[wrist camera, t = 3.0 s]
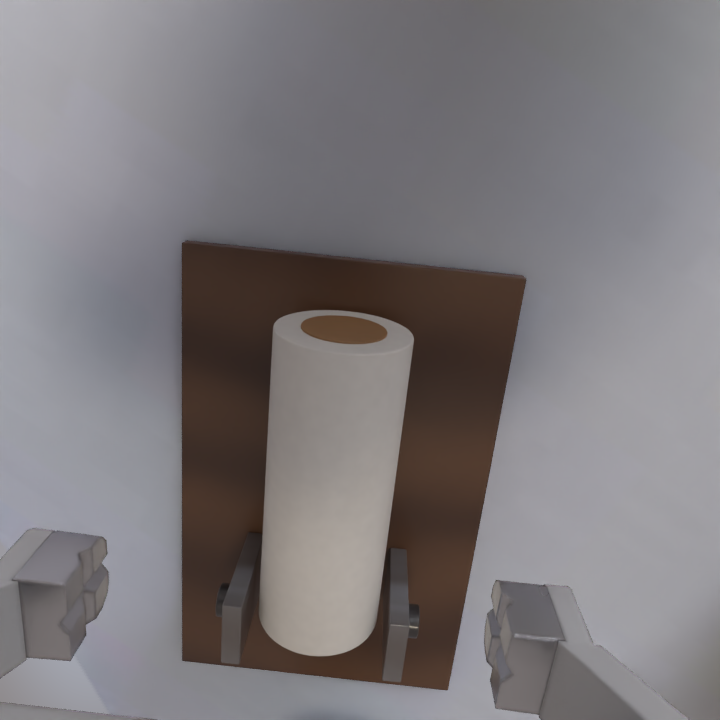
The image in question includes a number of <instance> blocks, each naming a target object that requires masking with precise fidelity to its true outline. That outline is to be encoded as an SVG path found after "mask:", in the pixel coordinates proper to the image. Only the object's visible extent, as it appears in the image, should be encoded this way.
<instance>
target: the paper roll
mask: <svg viewBox="0 0 720 720" xmlns="http://www.w3.org/2000/svg"><path fill="white" fill-rule="evenodd" d="M413 344H414V337H413V334H412V333H411V332H410V331H409V330H408V329H407V328H405V327H404V326H402V325H400V324H398V323H396V322H393V321H391V320H388V319H385V318H381V317H378V316H374V315H369V314H364V313H358V312H350V311H339V310H313V311H303V312H297V313H293V314H289V315H286V316H283V317H281V318H279V319H278V320H277V321H276V322H275V323H274V326H273V339H272V359H271V379H270V398H269V418H268V437H267V457H266V476H265V496H264V515H263V535H262V555H261V574H260V594H259V618H260V621H261V624H262V626H263V628H264V630H265V631H266V633H267V634H268V635H269V636H270V637H271V638H272V639H273V640H274V641H275V642H276V643H278V644H279V645H281V646H282V647H284V648H286V649H288V650H291V651H293V652H296V653H299V654H303V655H309V656H332V655H337V654H341V653H345V652H347V651H350V650H352V649H354V648H356V647H357V646H359V645H360V644H362V643H363V642H364V641H365V640H366V639H367V638H368V637H369V636H370V634H371V633H372V631H373V629H374V627H375V625H376V621H377V614H378V607H379V599H380V592H381V584H382V577H383V569H384V562H385V554H386V547H387V539H388V532H389V524H390V517H391V509H392V501H393V494H394V486H395V479H396V471H397V464H398V456H399V449H400V441H401V434H402V426H403V419H404V411H405V404H406V396H407V389H408V381H409V374H410V366H411V359H412V351H413Z"/></svg>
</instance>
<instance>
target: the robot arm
mask: <svg viewBox="0 0 720 720" xmlns="http://www.w3.org/2000/svg"><path fill="white" fill-rule="evenodd" d="M106 555H107V543H106V540H105V539H104V538H103V537H102V536H94V535H87V534H79V533H71V532H64V531H54V530H46V529H38V528H32V529H29V530H27V531H26V532H25V533H24V534H23V535H22V536H21V537H20V538H19V539H18V540H17V542H16V543H15V544H14V545H13V546H12V547H11V548H10V549H9V550H8V551H7V552H6V554H5V555H4V556H3V557H2V558H1V559H0V678H2V677H3V676H5V675H6V674H7V673H9V672H10V671H12V670H13V669H14V668H16V667H17V666H19V665H20V664H21V663H23V662H24V661H26V658H39V659H52V660H63V661H71V659H72V658H73V656H74V654H75V653H76V651H77V649H78V648H79V646H80V645H81V643H82V641H83V640H84V638H85V636H86V624H88V623H89V622H91V621H93V620H94V619H96V618H97V616H98V615H99V613H100V611H101V609H102V608H103V605H104V602H105V599H106V596H107V592H108V583H109V575H108V570H107V569H106V568H105V567H104V565H103V564H102V561H103V560H104V558H105V557H106ZM491 598H492V603H493V609H492V610H491V611H490V612H488V613H487V619H486V624H485V637H484V644H485V654H486V660H487V662H488V664H489V665H490V666H491V667H492V668H493V669H492V673H491V678H490V682H491V687H492V693H493V698H494V703H495V708H496V709H502V710H510V711H517V712H524V713H531V714H538V715H539V718H540V719H541V720H689V719H688V718H687V717H685V716H684V715H683V714H682V713H681V712H679V711H678V710H677V709H676V708H675V707H674V706H672V705H671V704H670V703H669V702H668V701H666V700H665V699H664V698H663V697H662V696H660V695H659V694H658V693H657V692H656V691H654V690H653V689H652V688H651V687H650V686H648V685H647V684H646V683H645V682H644V681H643V680H641V679H640V678H639V677H638V676H637V675H635V674H634V673H633V672H632V671H631V670H629V669H628V668H627V667H626V666H625V665H623V664H622V663H621V662H620V661H619V660H617V659H616V658H615V657H614V656H613V655H612V654H610V653H609V652H608V651H607V650H606V649H604V648H603V647H602V646H600V645H594V644H593V641H592V639H591V636H590V634H589V631H588V629H587V626H586V624H585V621H584V619H583V617H582V614H581V612H580V609H579V607H578V604H577V602H576V599H575V597H574V594H573V592H572V590H571V589H570V588H569V587H568V586H559V585H547V584H544V585H538V584H529V583H519V582H510V581H500V580H496V581H495V583H494V585H493V589H492V594H491ZM0 720H156V719H147V718H138V717H129V716H120V715H111V714H102V713H93V712H85V711H76V710H66V709H58V708H49V707H40V706H30V705H22V704H13V703H4V702H0Z"/></svg>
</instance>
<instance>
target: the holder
mask: <svg viewBox="0 0 720 720" xmlns="http://www.w3.org/2000/svg"><path fill="white" fill-rule="evenodd" d="M525 284H526V278H525V277H524V276H522V275H512V274H502V273H493V272H483V271H474V270H464V269H455V268H445V267H436V266H426V265H417V264H407V263H398V262H388V261H379V260H369V259H360V258H350V257H340V256H331V255H321V254H312V253H302V252H293V251H283V250H274V249H264V248H255V247H245V246H236V245H226V244H217V243H207V242H198V241H188V240H187V241H184V242H183V243H182V660H183V661H189V662H198V663H207V664H216V665H225V666H234V667H243V668H252V669H260V670H269V671H278V672H287V673H296V674H305V675H314V676H323V677H332V678H341V679H350V680H359V681H368V682H377V683H386V684H395V685H404V686H413V687H422V688H431V689H440V690H448V686H449V681H450V676H451V671H452V665H453V660H454V655H455V650H456V644H457V639H458V634H459V629H460V623H461V618H462V613H463V608H464V603H465V597H466V592H467V587H468V582H469V576H470V571H471V566H472V561H473V556H474V550H475V545H476V540H477V535H478V529H479V524H480V519H481V514H482V508H483V503H484V498H485V493H486V488H487V482H488V477H489V472H490V467H491V461H492V456H493V451H494V446H495V440H496V435H497V430H498V425H499V420H500V414H501V409H502V404H503V399H504V393H505V388H506V383H507V378H508V373H509V367H510V362H511V357H512V352H513V346H514V341H515V336H516V331H517V325H518V320H519V315H520V310H521V305H522V299H523V294H524V289H525ZM313 310H339V311H350V312H358V313H364V314H369V315H374V316H378V317H381V318H385V319H388V320H391V321H393V322H396V323H398V324H400V325H402V326H404V327H405V328H407V329H408V330H409V331H410V332H411V333H412V334H413V337H414V344H413V351H412V359H411V366H410V374H409V381H408V389H407V396H406V404H405V411H404V419H403V426H402V434H401V441H400V449H399V456H398V464H397V471H396V479H395V486H394V494H393V501H392V509H391V517H390V524H389V532H388V539H387V547H386V554H385V562H384V569H383V577H382V584H381V592H380V599H379V607H378V614H377V621H376V625H375V627H374V629H373V631H372V633H371V634H370V636H369V637H368V638H367V639H366V640H365V641H364V642H363V643H362V644H360V645H359V646H357V647H356V648H354V649H352V650H350V651H347V652H345V653H341V654H337V655H332V656H309V655H303V654H299V653H296V652H293V651H291V650H288V649H286V648H284V647H282V646H281V645H279V644H278V643H276V642H275V641H274V640H273V639H272V638H271V637H270V636H269V635H268V634H267V633H266V631H265V630H264V628H263V626H262V624H261V621H260V618H259V594H260V574H261V555H262V535H263V515H264V496H265V476H266V457H267V437H268V418H269V398H270V379H271V359H272V339H273V326H274V323H275V322H276V321H277V320H278V319H279V318H281V317H283V316H286V315H289V314H293V313H297V312H303V311H313Z"/></svg>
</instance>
